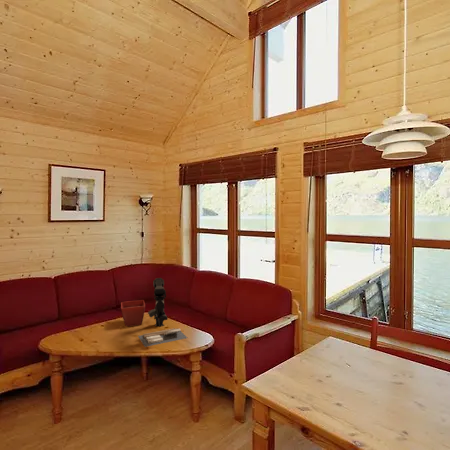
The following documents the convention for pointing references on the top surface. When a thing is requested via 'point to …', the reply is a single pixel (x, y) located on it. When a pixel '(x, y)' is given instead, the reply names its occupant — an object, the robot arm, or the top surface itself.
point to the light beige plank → (154, 339)
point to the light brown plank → (156, 333)
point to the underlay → (164, 338)
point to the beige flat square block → (172, 332)
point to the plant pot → (133, 312)
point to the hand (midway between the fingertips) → (160, 326)
